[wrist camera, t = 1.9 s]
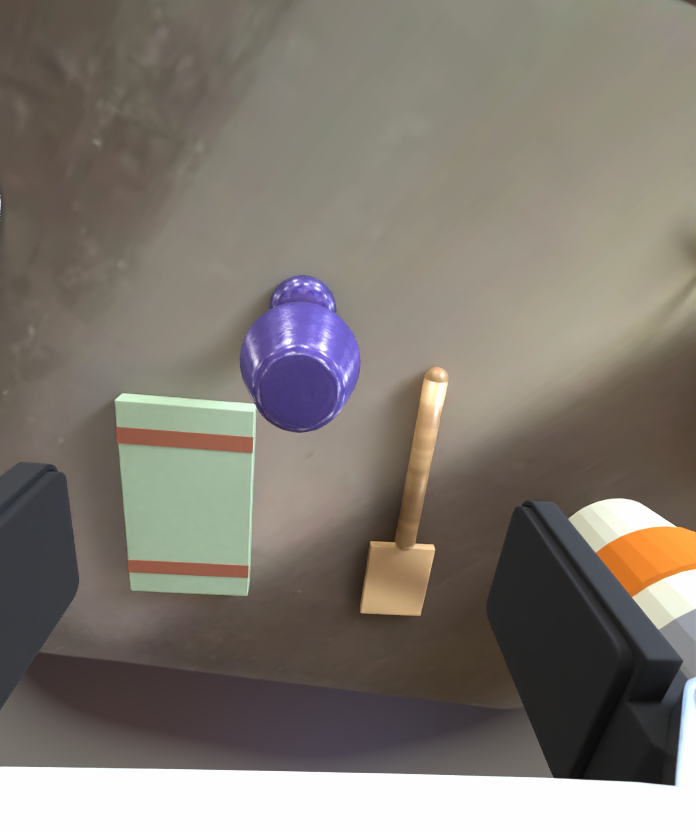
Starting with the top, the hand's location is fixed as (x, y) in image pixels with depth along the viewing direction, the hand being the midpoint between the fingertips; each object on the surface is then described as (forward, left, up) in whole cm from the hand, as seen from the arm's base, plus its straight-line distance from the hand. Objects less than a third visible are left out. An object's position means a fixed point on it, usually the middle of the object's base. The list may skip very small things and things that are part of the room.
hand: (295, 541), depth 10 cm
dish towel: (-8, -14, -23) cm, 28 cm away
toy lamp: (0, +1, -23) cm, 23 cm away
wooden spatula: (+9, -13, -23) cm, 27 cm away
